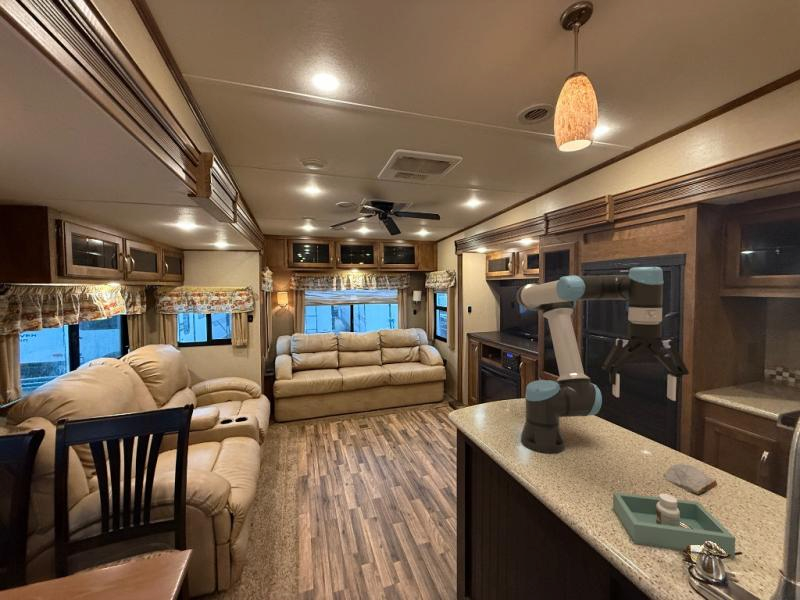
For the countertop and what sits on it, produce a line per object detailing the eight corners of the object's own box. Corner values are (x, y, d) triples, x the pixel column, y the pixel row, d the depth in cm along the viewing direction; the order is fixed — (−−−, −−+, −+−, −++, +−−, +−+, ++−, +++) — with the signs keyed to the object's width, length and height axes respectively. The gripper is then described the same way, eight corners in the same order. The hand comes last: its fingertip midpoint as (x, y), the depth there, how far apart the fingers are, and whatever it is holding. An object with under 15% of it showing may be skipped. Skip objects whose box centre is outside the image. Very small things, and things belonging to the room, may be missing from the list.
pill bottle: (656, 519, 82) (656, 489, 82) (679, 527, 79) (679, 496, 79) (655, 530, 78) (656, 498, 78) (679, 538, 76) (680, 506, 75)
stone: (657, 478, 101) (657, 467, 101) (679, 469, 106) (679, 458, 106) (698, 497, 92) (698, 485, 91) (720, 486, 96) (720, 475, 96)
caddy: (612, 508, 87) (613, 492, 87) (697, 519, 83) (698, 501, 82) (634, 543, 75) (634, 524, 75) (734, 558, 71) (735, 537, 70)
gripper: (599, 323, 90) (598, 398, 91) (707, 324, 84) (704, 405, 85) (590, 320, 97) (589, 390, 98) (689, 321, 91) (687, 395, 92)
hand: (643, 397), depth 92 cm, fingers open, 13 cm apart
